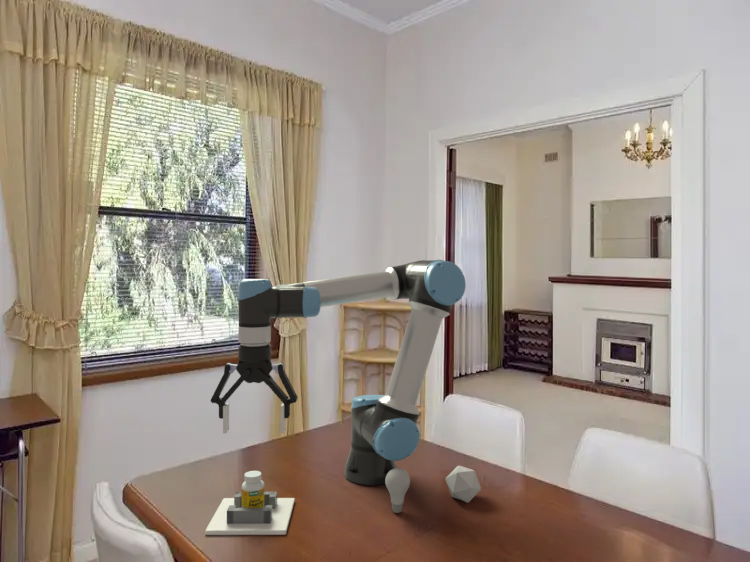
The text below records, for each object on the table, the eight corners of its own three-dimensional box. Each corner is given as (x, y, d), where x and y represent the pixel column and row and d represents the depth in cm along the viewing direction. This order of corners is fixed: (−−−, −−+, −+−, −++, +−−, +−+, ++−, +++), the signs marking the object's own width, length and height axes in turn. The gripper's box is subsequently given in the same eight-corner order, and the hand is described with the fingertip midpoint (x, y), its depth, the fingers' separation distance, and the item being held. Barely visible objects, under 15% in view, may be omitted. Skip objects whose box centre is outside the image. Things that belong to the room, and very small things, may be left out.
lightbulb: (392, 521, 123) (393, 475, 122) (380, 510, 128) (381, 466, 128) (414, 515, 125) (415, 471, 125) (401, 505, 131) (402, 462, 130)
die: (486, 501, 135) (476, 464, 140) (480, 496, 128) (469, 458, 134) (456, 508, 137) (447, 471, 142) (449, 504, 130) (439, 466, 135)
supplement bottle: (258, 505, 127) (258, 467, 127) (268, 514, 123) (268, 474, 123) (237, 512, 124) (237, 472, 124) (247, 520, 120) (247, 480, 119)
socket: (294, 501, 132) (294, 486, 132) (285, 534, 116) (285, 517, 116) (223, 501, 131) (223, 486, 131) (205, 534, 115) (205, 517, 115)
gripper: (308, 341, 127) (308, 426, 128) (206, 341, 126) (206, 426, 127) (305, 346, 119) (305, 436, 120) (197, 345, 118) (197, 436, 119)
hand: (254, 431), depth 123 cm, fingers open, 13 cm apart
